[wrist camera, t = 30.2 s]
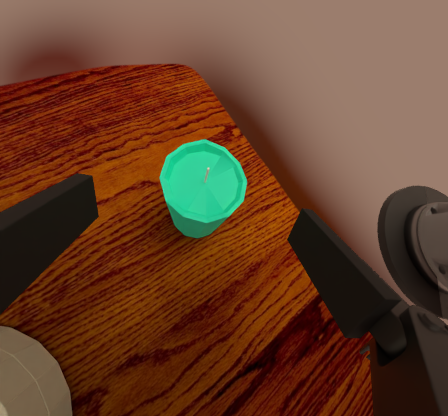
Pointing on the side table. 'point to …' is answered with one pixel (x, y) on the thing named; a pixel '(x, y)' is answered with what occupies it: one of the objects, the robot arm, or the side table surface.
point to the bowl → (30, 378)
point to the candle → (202, 187)
